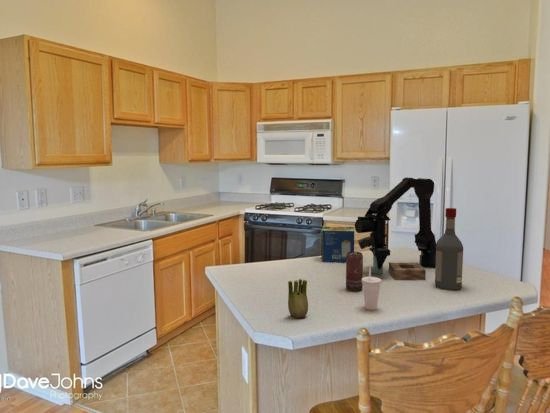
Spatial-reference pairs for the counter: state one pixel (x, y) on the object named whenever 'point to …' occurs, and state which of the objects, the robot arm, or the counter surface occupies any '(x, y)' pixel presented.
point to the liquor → (449, 256)
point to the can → (354, 271)
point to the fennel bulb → (297, 299)
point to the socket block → (407, 271)
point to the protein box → (337, 243)
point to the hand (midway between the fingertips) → (377, 267)
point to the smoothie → (371, 291)
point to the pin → (376, 267)
